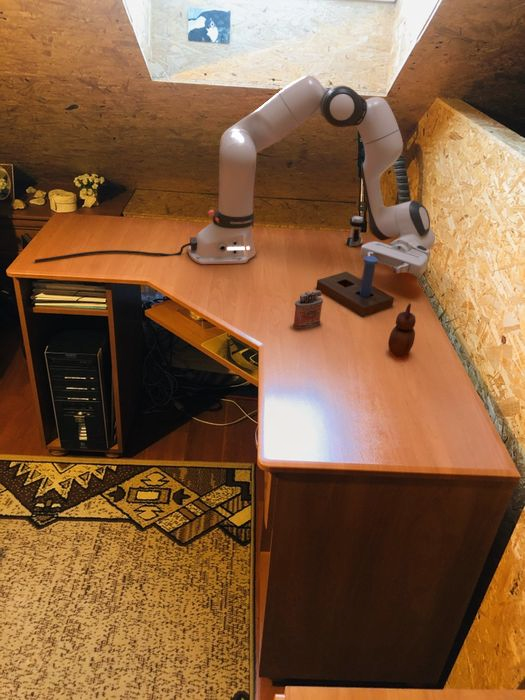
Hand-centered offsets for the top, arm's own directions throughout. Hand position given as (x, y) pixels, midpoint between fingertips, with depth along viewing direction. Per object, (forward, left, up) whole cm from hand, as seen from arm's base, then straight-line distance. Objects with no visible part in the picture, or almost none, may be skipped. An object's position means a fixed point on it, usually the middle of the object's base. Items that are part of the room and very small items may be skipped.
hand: (380, 265), depth 167 cm
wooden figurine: (-11, -30, -10) cm, 33 cm away
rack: (-7, 0, -10) cm, 12 cm away
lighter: (-28, -11, -10) cm, 31 cm away
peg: (-6, -4, -10) cm, 12 cm away
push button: (+13, +36, -10) cm, 40 cm away
